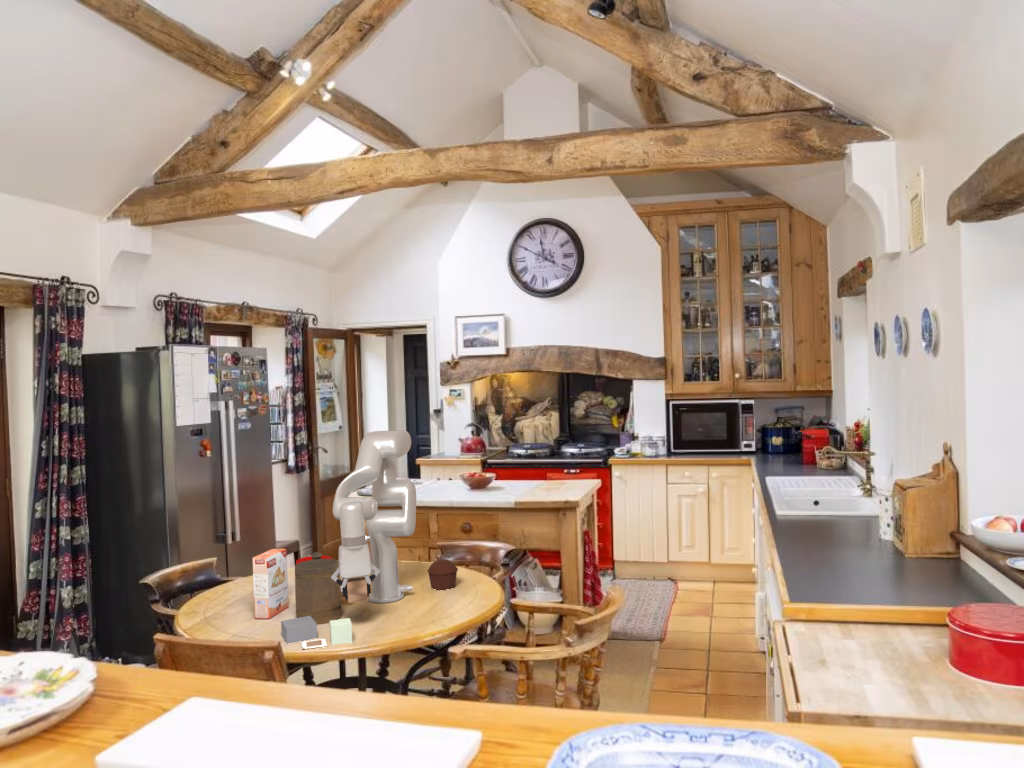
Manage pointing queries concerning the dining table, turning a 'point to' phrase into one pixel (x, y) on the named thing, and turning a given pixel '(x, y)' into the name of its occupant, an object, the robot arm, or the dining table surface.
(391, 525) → the robot arm
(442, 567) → the muffin
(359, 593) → the walnut cube
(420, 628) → the dining table surface
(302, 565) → the wooden container
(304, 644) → the tile
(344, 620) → the sage cube
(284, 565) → the cracker box
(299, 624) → the base block
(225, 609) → the dining table surface
